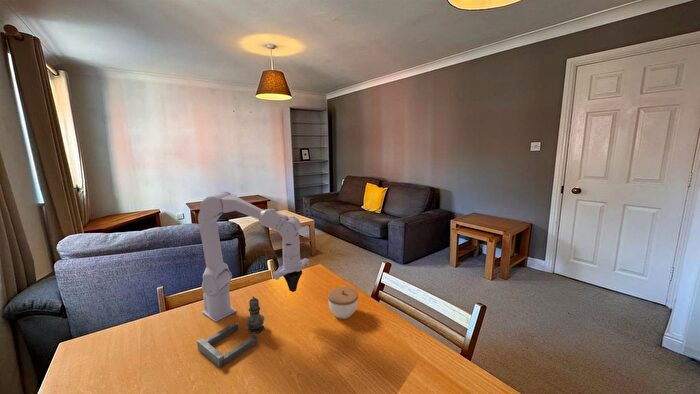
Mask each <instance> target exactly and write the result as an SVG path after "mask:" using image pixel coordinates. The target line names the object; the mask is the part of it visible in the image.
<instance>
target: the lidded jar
mask: <svg viewBox="0 0 700 394" xmlns="http://www.w3.org/2000/svg"><path fill="white" fill-rule="evenodd" d="M327 299H328V300H327V302H328V307H329V310H330V312H331V313H332V314H333V315H334V316H335V317H336V318H338V319H340V320H345V319H348V318H350V317H352V315H353V314H354V313H355V312H356V310H357V306H358V304H359V303H358V300H359V293H358V291H357V290H356V289H354V288H352V287H350V286H349V287H348V286H339V287H335V288H332V289H331V290H330V291H329V292H328V293H327Z"/></svg>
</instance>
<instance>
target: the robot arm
mask: <svg viewBox="0 0 700 394" xmlns="http://www.w3.org/2000/svg"><path fill="white" fill-rule="evenodd" d="M199 206H200V209H199V212H198V216H197V222H198V226H199V232H200V237H201V244H202V249H203V254H204V255H203V256H204V261H205V269H204V272H203V274H202V283H201V289H202V292H203V294H202V297H203V298H202V299H203V308H204V310H202V311H201V313H202V314H203V315H205V316H206V317H207V318H209V319H211V320H212V321H213V322H214V323H216V322H218V321H220V320H223V319H225V318H226V317H229V316H230V315H232V314H234V313H236V312H237V309H235V308H234V307H232V306H231V294H230V282H231V281H232V278H233V273H232V272H231V270H230V269H229V265H228V263H225V262H224V258H223V253H222V246H221V240H220V234H219V229H218V219H219V218H220V217H221V216H222V215H223V214H226V213H232V212H238V213H241V214H244V215H246V216H249V217H251V218H253V219H257V220H258V221H259V224H260V225H262V226H264V227H267V228H268V229H271V230H273V231H275V232H277V233H279V235H280V237H281V239H282V240H281V241H282V242H281V246H282V266H281V267H279V268H278V269H277V270H276V271H273V273H272V278H273V279H274V280H277V281H278V280H280V278H281V277H283V278H284V280H285V282H286V284H287V286H288V290H289V292H292V293H294V292H297V289H298V283H299V281H300V278H301V276H302V274H303V267H304V266H309V265H310V259H308V258H305V257H304V258H302V259H301V249H300V248H301V245H300V243H301V242H300V231H301V228H302V223H301V220H299V219H298V218H296V216H289V215H287V214H282V213H279V212H277V211H276V209H274V208H267V209H262V208H260V207H257V206H256V205H254V204H252V203H250V202H248V201H247V200H245V199H242V198H240V197H239V196H238V195H237V194H233V193H231V192H229V191H222V192H219V193H217V194H213V195H209V196H207V197H205V198H204V199H203V200H202V201H201V202H200V203H199Z"/></svg>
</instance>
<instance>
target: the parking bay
mask: <svg viewBox="0 0 700 394" xmlns="http://www.w3.org/2000/svg"><path fill="white" fill-rule="evenodd" d="M237 331H239V324H238V323H237V322H234V323H232V324H230V325H228V326H227V327H225V328H223V329H221V330H219V331H218V332H216V333H214V334H213V335H210V336H208V337H207V338H205V339H204V338H203V337H201V338H199V339H197V340H196V344H197V350H198V351H199V352H200V353H201V354H203V356H205V357H206V358H207V359H208V360H209V361H211V362H212V364H214V365H215V366H217V368H219V369H221V368H224V366H225V365H227V364H229V363H230V362H231V361H233V360H235V359H236V358H238V357H239V356H240V355H242V354H244V353H245V352H247V351H248V350H250V349H251V348H253V347H255V345H257V344H258V343H259V337H258V336H257V335H253V336H251V337H249V338H248V339H246V340H245V341H243V342H242V343H240V344H238V345H237V346H235V347H234V348H232V349H231V350H229V351H227V352H226V353H224V354H223V353H221V352H220V351H219V350H218V349H217V348H215V347H214V346H213V345H215V344H216V343H218V342H219V341H222V340H223V339H224V338H226V337H229V336H230V335H232V334H234V333H236V332H237Z"/></svg>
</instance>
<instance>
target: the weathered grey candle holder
mask: <svg viewBox="0 0 700 394" xmlns="http://www.w3.org/2000/svg"><path fill="white" fill-rule="evenodd" d="M259 303H260V302H259V299H258V298H257V297H255V296H252V298H250V300H249V304H248V306H249V308H248V312H249V316H248V317H246V320H245V324H246V325H247V327H248V328H247V331H246V332H247V334H249V335H251V336H252V335H253V336H254V335H255V336H257V335H259V334H261V333H262V332H263V331H264V329H265V325H263V324H264V321H265V319H266V318H265V316H264V315H263V314H260V310H261V307H260V304H259Z"/></svg>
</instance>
